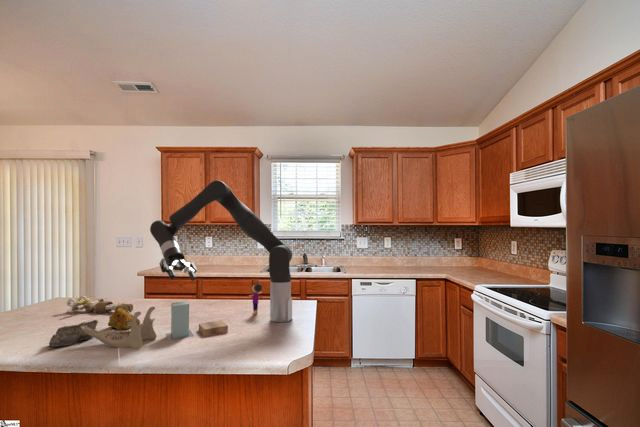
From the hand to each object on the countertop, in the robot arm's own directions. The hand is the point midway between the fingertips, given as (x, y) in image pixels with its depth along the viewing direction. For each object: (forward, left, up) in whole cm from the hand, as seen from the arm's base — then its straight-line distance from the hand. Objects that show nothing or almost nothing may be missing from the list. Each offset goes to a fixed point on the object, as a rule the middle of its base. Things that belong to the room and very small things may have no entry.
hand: (184, 278), depth 133 cm
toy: (-18, -31, -21) cm, 42 cm away
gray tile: (-2, +5, -21) cm, 22 cm away
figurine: (+59, -18, -21) cm, 65 cm away
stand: (-12, -2, -21) cm, 24 cm away
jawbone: (+15, +18, -21) cm, 31 cm away
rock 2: (+28, +1, -21) cm, 35 cm away
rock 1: (+32, +19, -21) cm, 43 cm away
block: (-2, +5, -21) cm, 21 cm away
